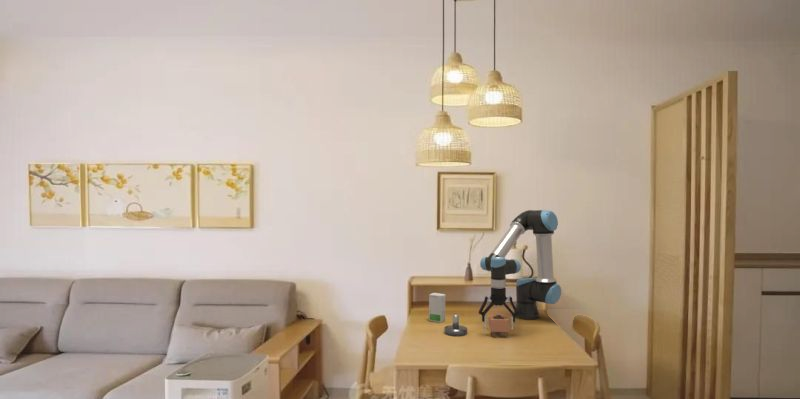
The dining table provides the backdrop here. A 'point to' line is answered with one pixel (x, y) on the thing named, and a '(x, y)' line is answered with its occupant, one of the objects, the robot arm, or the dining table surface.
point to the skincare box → (437, 307)
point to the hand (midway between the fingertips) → (498, 328)
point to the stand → (499, 334)
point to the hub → (455, 328)
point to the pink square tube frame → (498, 324)
